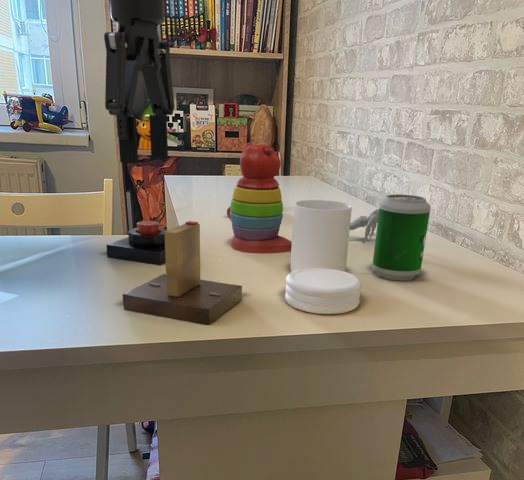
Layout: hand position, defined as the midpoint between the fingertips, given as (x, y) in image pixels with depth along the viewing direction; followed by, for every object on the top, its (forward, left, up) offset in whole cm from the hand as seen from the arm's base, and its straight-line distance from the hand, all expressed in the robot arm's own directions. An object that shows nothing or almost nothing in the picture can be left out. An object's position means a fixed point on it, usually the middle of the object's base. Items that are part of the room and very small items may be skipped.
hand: (145, 160), depth 88 cm
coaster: (+33, -10, -15) cm, 38 cm away
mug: (+28, +4, -15) cm, 32 cm away
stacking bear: (+14, +14, -15) cm, 25 cm away
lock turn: (+17, -19, -13) cm, 29 cm away
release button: (0, 0, -12) cm, 12 cm away
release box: (0, 0, -15) cm, 15 cm away
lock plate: (+17, -19, -15) cm, 30 cm away
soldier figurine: (+29, +29, -15) cm, 44 cm away
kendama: (0, +43, -15) cm, 45 cm away
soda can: (+40, +8, -15) cm, 44 cm away
